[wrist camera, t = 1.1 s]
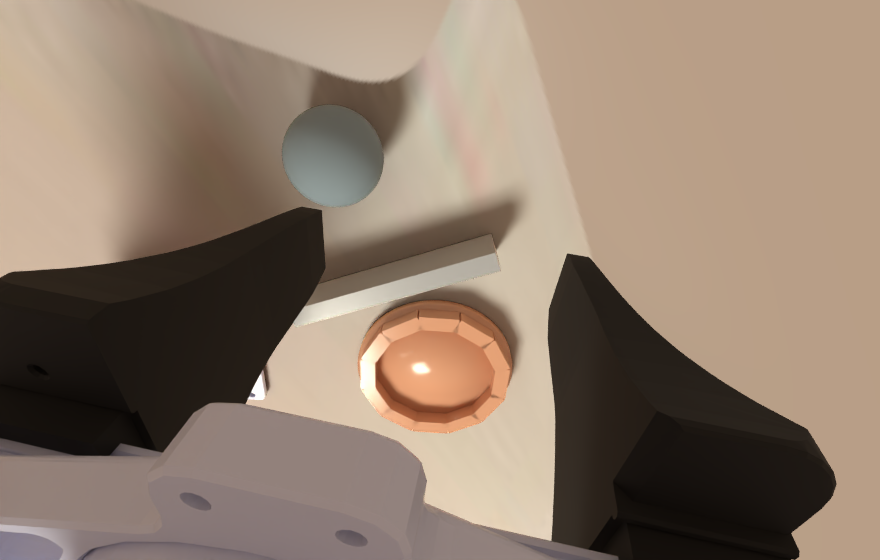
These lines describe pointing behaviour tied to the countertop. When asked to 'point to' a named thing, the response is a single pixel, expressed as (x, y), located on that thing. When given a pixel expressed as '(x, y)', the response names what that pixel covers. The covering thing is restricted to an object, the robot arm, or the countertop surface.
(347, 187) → the ball
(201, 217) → the countertop surface
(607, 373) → the robot arm
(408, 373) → the bowl
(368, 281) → the acrylic wall
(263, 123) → the countertop surface
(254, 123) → the countertop surface
